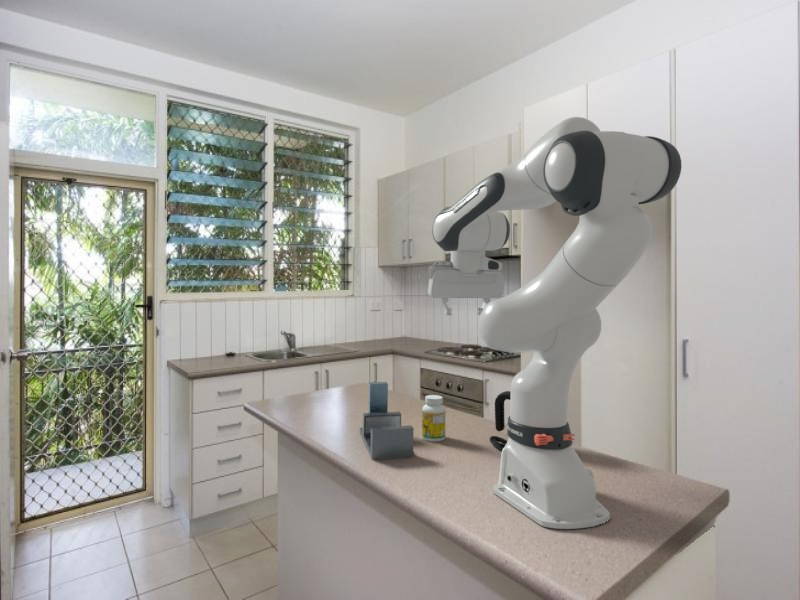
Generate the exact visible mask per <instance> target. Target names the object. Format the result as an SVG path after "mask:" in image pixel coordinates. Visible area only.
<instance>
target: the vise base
mask: <svg viewBox="0 0 800 600" xmlns="http://www.w3.org/2000/svg"><path fill="white" fill-rule="evenodd" d="M359 435H360V437H361V439H362V442H363V443H364V446H365V448H366V451H367V452H368V454H369V457H370V458H371V460H372V461H374V460H375V461H376V460H387V459H388V460H389V459H390V460H391V459H392V460H393V459H402V458H411V457H412V458H413V457H414V427H413V426H412V425H411V424H410V425H401V426H392V427H375V428H371V436H363V427H359Z"/></svg>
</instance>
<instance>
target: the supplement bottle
mask: <svg viewBox="0 0 800 600" xmlns="http://www.w3.org/2000/svg"><path fill="white" fill-rule="evenodd" d="M424 402H425V404H424V405H423V406H422V410H421V411H422V412H421V419H422V420H421V439H423V440H424V441H427V442H433V443H438V442H442V441H444V440H445V439H446V415H447V414H446V412H447V411H446V407H445V406H444V405H443V402H444V397H443V396H441V395H437V394H429V395H425V399H424Z"/></svg>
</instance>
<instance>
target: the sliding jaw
mask: <svg viewBox="0 0 800 600" xmlns="http://www.w3.org/2000/svg"><path fill="white" fill-rule="evenodd" d="M388 397H389V384H388V382H387V381H371V382H369V381H368V401H367V402H368V407H367V409H368V411H367V413H366V412H364V413H362V428H363V436H371V428H375V427H392V426H402V413H401V412H400V411H389V412H388V409H389V407H388V406H389V403H388V402H389V400H388V399H389V398H388Z"/></svg>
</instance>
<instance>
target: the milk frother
mask: <svg viewBox="0 0 800 600" xmlns="http://www.w3.org/2000/svg"><path fill="white" fill-rule="evenodd" d="M510 395H511V390H510V391H509V390H505V391H502V392H501V393H499V394H498V395H497V396H496V397H495V400H494V421H495V422H494V423H495V430H496V431H497V432H502V431H503V430H505V428H506V427H505V426H506V425H505V401H506V400H509V401H510ZM507 441H508V439H504V438H503V437H499V436H497V435H492V436H491V435H490V437H489V442H490V444H491V445H492V446H493V447H494V449H496V450H497V451H499V452H501V453H502V450H503V448H504V447H505V445H506V443H507Z"/></svg>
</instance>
